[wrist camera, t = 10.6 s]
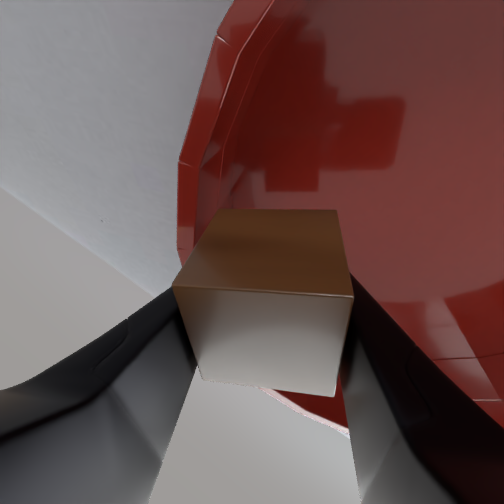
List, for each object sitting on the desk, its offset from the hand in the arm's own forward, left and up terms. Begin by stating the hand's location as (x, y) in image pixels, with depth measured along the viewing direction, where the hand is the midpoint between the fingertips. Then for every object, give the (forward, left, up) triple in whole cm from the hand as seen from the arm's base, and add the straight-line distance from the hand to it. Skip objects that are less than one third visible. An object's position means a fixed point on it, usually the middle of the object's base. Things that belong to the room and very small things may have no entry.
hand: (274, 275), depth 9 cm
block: (0, 0, -1) cm, 1 cm away
